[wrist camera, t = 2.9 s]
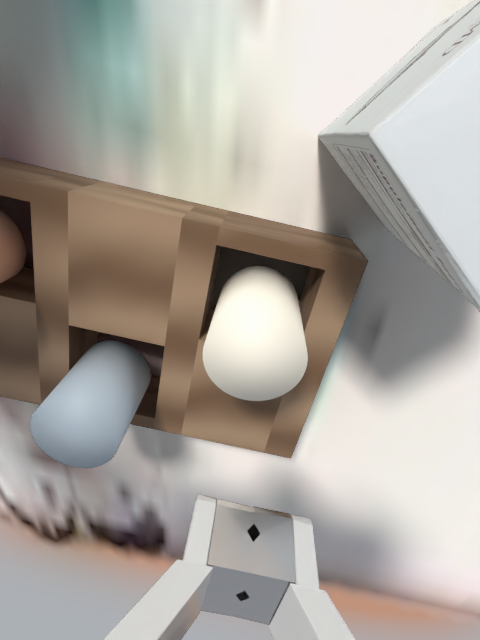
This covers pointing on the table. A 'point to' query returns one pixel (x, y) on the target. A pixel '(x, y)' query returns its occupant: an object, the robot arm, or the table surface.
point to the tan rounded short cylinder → (10, 248)
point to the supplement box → (423, 149)
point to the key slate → (92, 405)
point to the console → (158, 300)
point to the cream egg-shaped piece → (256, 336)
